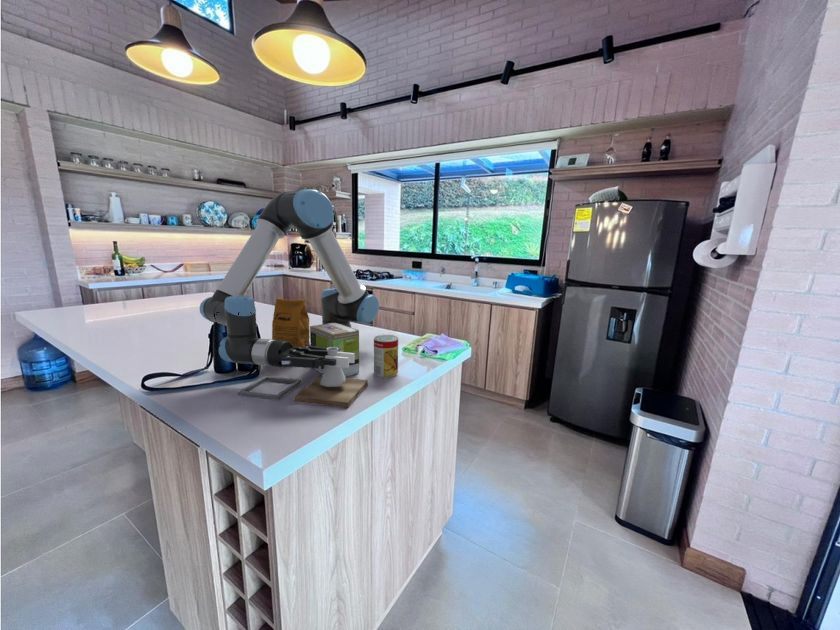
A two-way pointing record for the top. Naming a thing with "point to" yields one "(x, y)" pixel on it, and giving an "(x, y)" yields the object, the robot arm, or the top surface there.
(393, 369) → the canned food
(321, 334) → the tea box
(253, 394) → the grey square frame
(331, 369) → the flask
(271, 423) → the top surface
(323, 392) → the walnut board
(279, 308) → the coffee package
